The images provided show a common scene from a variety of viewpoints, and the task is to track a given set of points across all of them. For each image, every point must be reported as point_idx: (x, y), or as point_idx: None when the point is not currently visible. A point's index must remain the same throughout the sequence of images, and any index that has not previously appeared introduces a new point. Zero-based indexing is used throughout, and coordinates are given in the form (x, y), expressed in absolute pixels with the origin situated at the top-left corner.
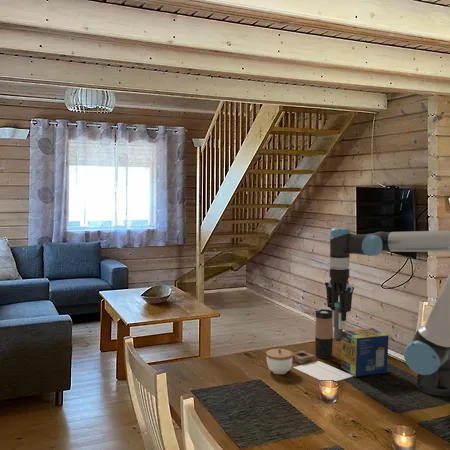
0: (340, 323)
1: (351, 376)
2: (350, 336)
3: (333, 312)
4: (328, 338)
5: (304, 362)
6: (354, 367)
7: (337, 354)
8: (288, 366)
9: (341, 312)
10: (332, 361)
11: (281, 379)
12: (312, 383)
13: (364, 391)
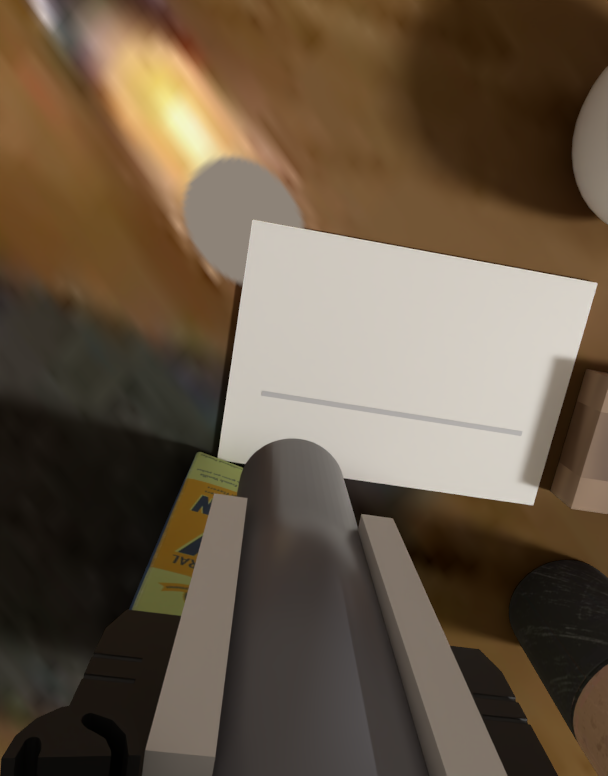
0: (197, 557)
1: (220, 439)
2: None
3: (446, 731)
4: (586, 693)
5: (582, 404)
6: (200, 477)
7: (507, 682)
8: (579, 128)
9: (25, 739)
10: (463, 568)
11: (536, 34)
12: (332, 148)
13: (17, 299)
